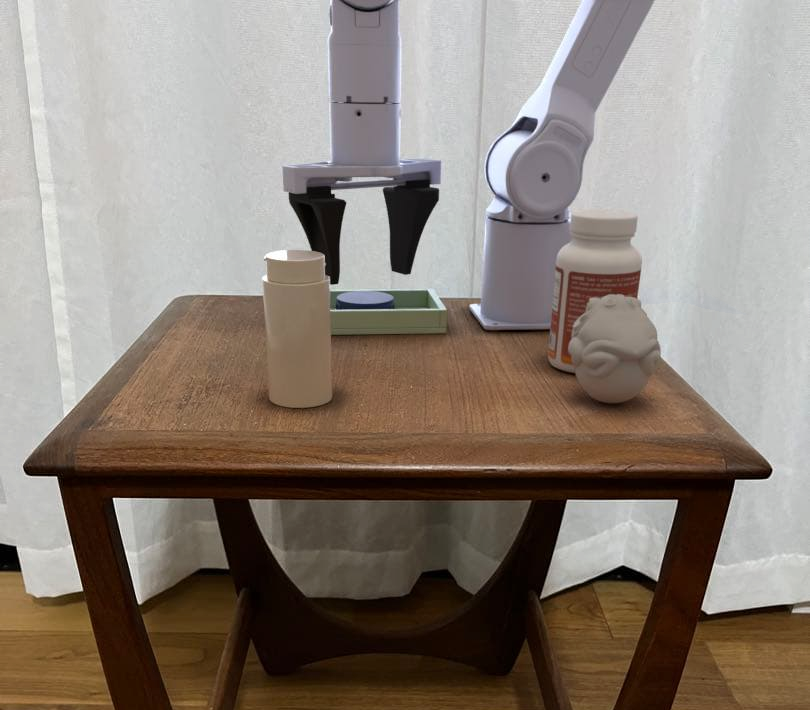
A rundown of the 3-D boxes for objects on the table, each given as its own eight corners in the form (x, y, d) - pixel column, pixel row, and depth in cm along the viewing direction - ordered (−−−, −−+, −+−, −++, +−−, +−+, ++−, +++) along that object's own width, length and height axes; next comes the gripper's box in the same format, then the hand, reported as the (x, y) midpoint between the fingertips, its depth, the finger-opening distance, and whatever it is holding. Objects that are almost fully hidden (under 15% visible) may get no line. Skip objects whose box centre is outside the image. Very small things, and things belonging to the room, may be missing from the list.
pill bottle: (645, 369, 67) (668, 216, 61) (586, 382, 64) (605, 222, 58) (588, 350, 71) (604, 205, 66) (530, 361, 68) (543, 210, 63)
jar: (330, 386, 62) (326, 248, 57) (334, 407, 58) (331, 261, 54) (268, 388, 61) (260, 249, 57) (269, 409, 57) (260, 262, 53)
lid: (327, 312, 79) (327, 293, 78) (379, 307, 81) (379, 288, 80) (349, 326, 75) (349, 306, 74) (403, 320, 77) (404, 301, 76)
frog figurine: (629, 382, 64) (643, 285, 61) (671, 415, 58) (689, 309, 54) (549, 385, 63) (559, 286, 60) (583, 419, 57) (596, 311, 54)
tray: (432, 310, 82) (433, 288, 81) (446, 333, 75) (447, 310, 74) (291, 312, 81) (290, 290, 80) (291, 335, 74) (290, 311, 73)
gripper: (313, 105, 63) (319, 296, 69) (467, 104, 71) (459, 276, 77) (265, 101, 68) (275, 280, 74) (414, 101, 76) (411, 263, 82)
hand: (365, 277), depth 76 cm, fingers open, 7 cm apart
